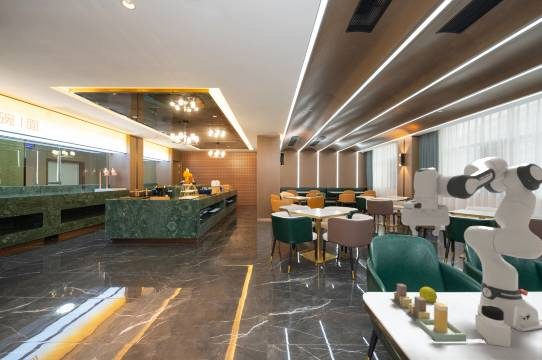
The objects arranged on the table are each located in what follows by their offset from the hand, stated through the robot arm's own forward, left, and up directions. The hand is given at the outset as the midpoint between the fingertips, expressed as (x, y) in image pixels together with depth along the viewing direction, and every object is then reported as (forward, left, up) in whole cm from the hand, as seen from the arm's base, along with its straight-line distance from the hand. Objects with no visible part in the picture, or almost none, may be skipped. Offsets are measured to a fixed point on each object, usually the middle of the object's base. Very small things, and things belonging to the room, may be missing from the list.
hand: (425, 235), depth 103 cm
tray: (+3, +12, -35) cm, 37 cm away
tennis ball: (-10, -12, -35) cm, 39 cm away
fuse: (+3, +12, -34) cm, 36 cm away
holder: (+5, -3, -35) cm, 35 cm away
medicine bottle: (-14, +16, -35) cm, 41 cm away
